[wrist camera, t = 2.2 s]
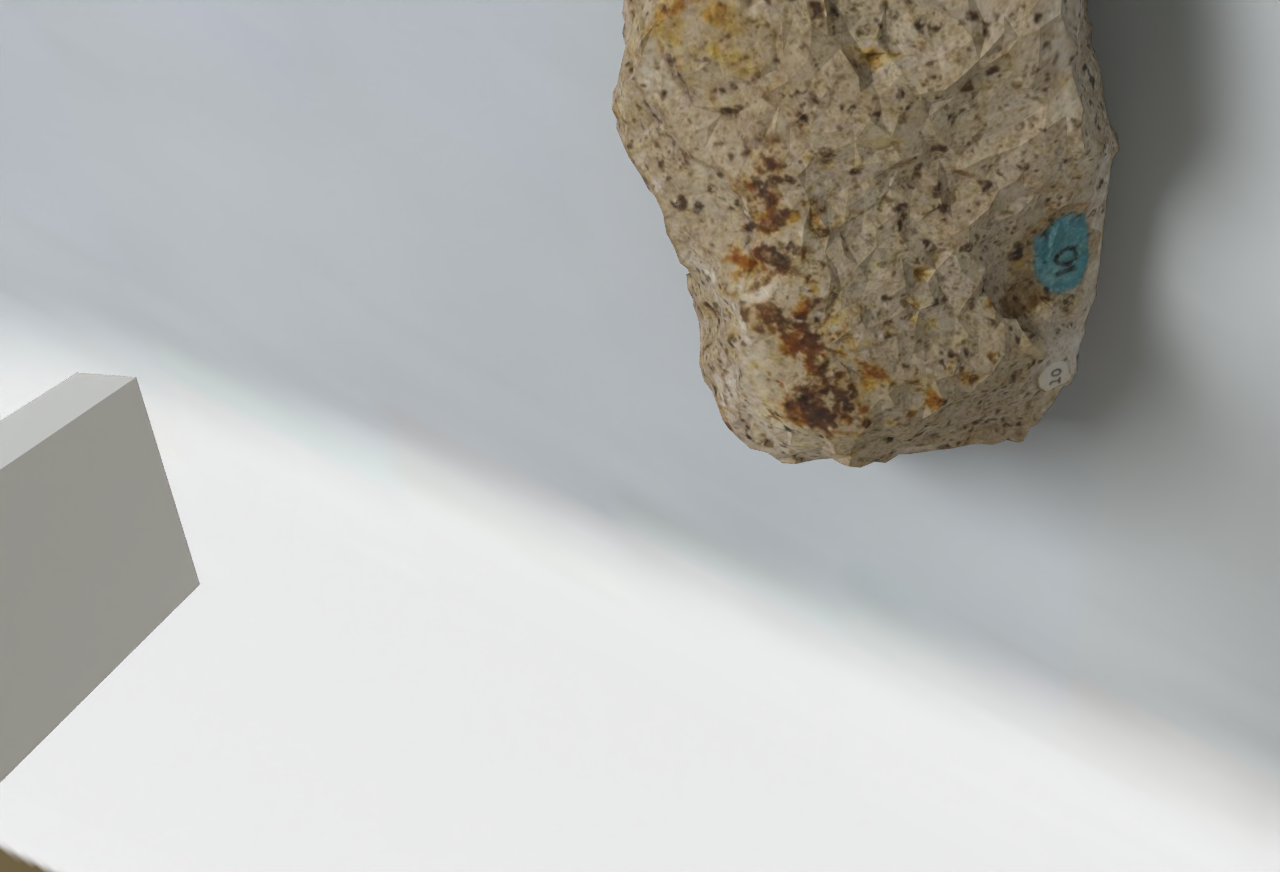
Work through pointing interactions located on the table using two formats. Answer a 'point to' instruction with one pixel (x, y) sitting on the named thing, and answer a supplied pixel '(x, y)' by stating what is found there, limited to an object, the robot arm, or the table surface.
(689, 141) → the rock
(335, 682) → the table surface
